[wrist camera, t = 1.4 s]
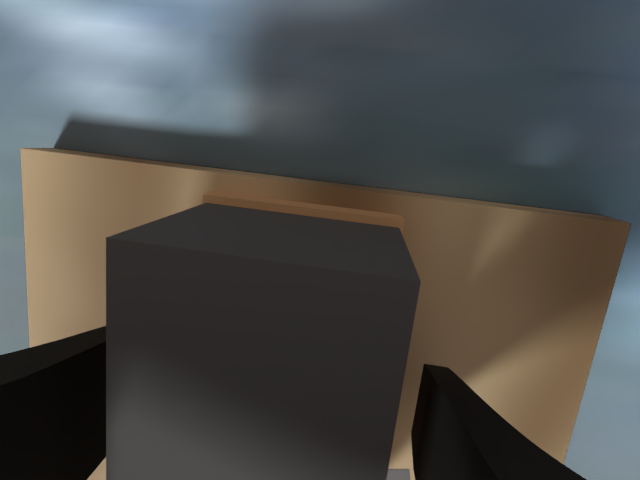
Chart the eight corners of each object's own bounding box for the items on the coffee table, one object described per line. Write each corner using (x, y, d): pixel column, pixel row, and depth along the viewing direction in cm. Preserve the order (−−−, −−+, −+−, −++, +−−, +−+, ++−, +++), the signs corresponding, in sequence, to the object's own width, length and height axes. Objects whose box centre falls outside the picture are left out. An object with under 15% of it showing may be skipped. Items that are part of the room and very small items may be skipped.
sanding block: (402, 215, 11) (430, 269, 6) (356, 505, 13) (349, 718, 8) (213, 191, 11) (99, 223, 6) (197, 475, 13) (101, 663, 9)
